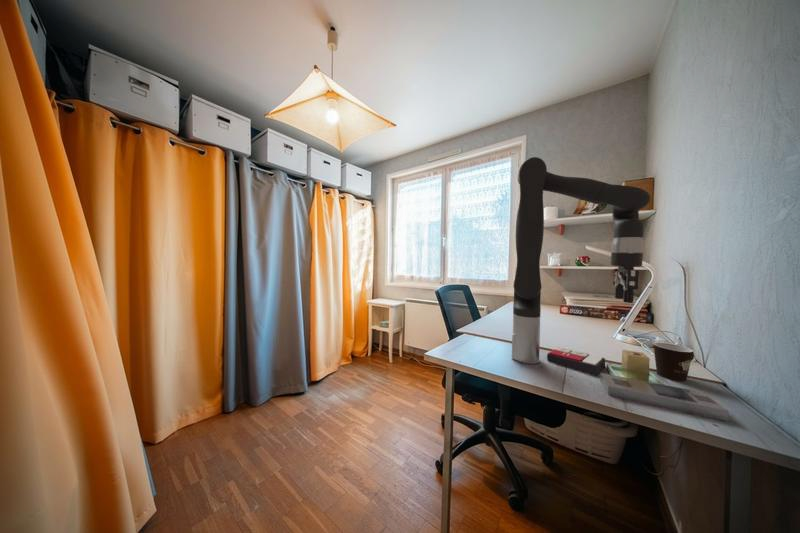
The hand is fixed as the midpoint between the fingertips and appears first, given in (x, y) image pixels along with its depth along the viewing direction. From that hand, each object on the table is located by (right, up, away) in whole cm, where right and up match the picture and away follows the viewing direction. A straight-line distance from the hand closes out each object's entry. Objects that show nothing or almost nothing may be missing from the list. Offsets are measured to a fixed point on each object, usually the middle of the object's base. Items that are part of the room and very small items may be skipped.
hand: (623, 300), depth 78 cm
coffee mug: (+17, -26, -1) cm, 31 cm away
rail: (-3, -25, -13) cm, 29 cm away
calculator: (-9, -25, +9) cm, 28 cm away
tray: (+1, -25, -2) cm, 25 cm away
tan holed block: (+1, -25, -2) cm, 25 cm away
